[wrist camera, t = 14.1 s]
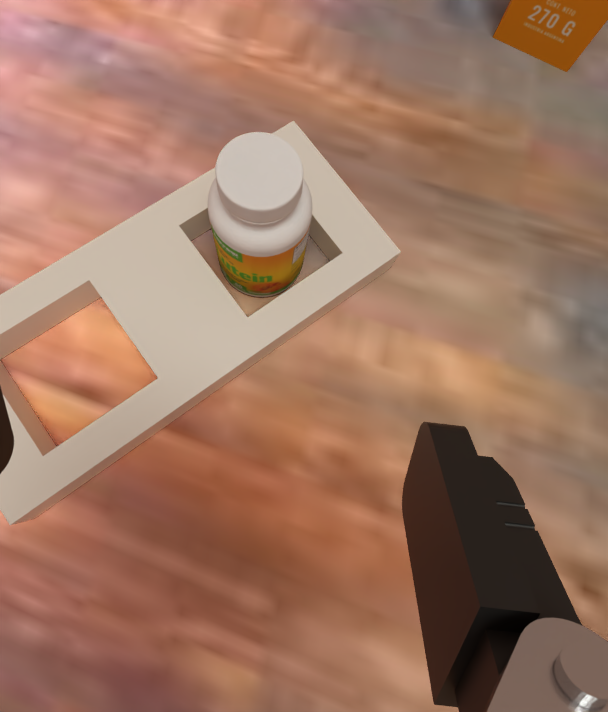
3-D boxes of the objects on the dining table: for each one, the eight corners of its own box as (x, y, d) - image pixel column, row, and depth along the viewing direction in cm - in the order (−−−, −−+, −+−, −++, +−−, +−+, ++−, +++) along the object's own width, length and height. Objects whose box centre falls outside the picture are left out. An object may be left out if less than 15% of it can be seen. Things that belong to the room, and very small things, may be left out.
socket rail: (291, 146, 32) (293, 120, 30) (390, 268, 31) (400, 251, 29) (-65, 361, 27) (-98, 352, 25) (33, 519, 26) (9, 525, 24)
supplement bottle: (205, 280, 30) (177, 196, 20) (239, 210, 31) (228, 100, 22) (284, 311, 30) (292, 243, 20) (314, 240, 31) (336, 144, 22)
